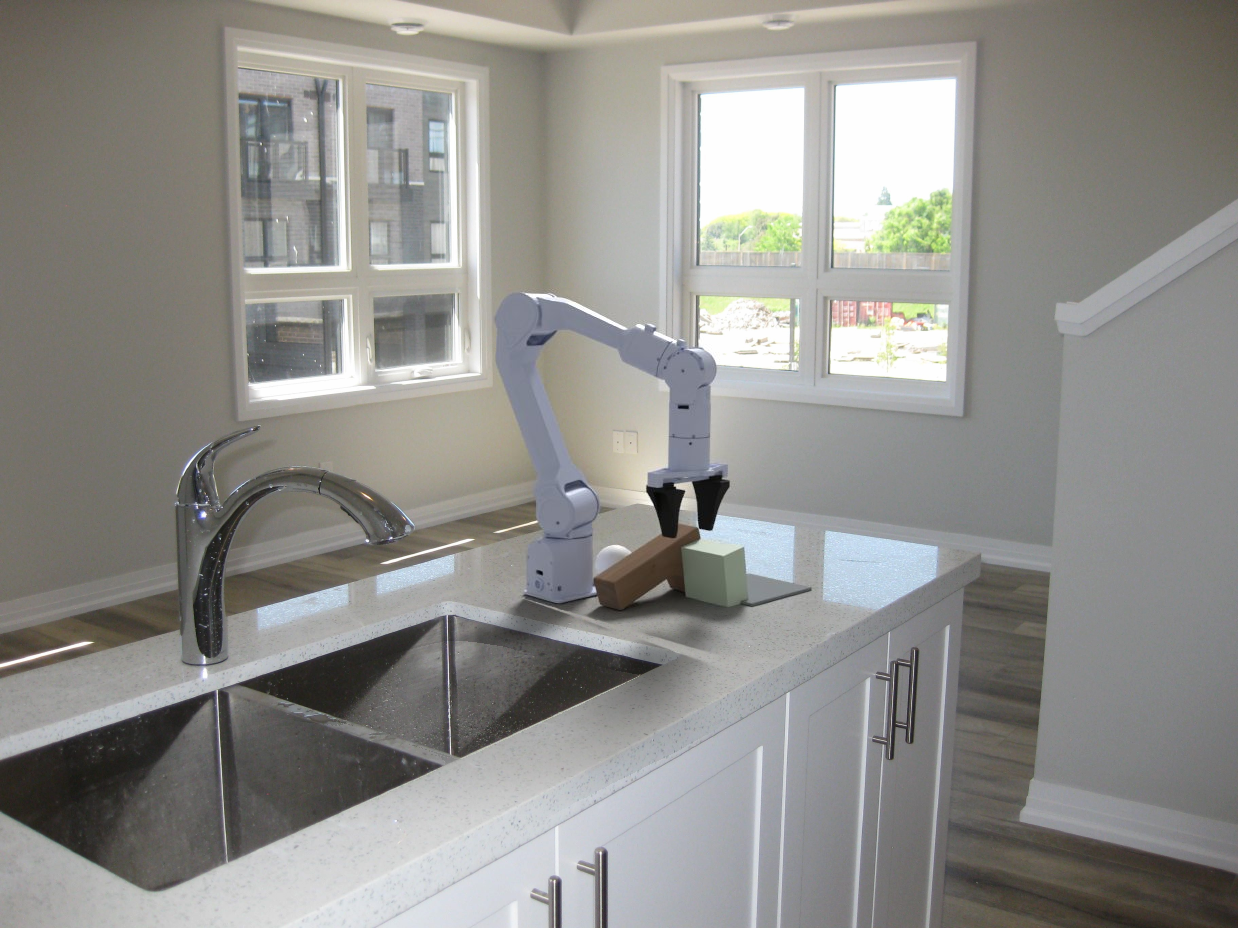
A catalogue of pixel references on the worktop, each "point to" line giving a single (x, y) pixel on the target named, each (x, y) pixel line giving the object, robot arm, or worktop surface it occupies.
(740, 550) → the sage block
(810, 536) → the worktop surface
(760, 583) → the mat
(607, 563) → the lightbulb
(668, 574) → the wooden block
